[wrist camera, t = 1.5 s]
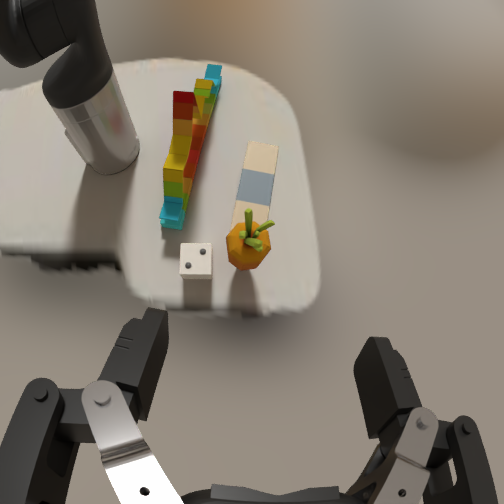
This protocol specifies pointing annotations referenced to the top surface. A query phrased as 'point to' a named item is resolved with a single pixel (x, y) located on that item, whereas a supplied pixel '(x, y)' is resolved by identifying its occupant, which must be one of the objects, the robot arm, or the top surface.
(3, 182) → the top surface
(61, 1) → the robot arm
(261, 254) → the carrot
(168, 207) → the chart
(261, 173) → the flat strip
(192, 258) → the die
